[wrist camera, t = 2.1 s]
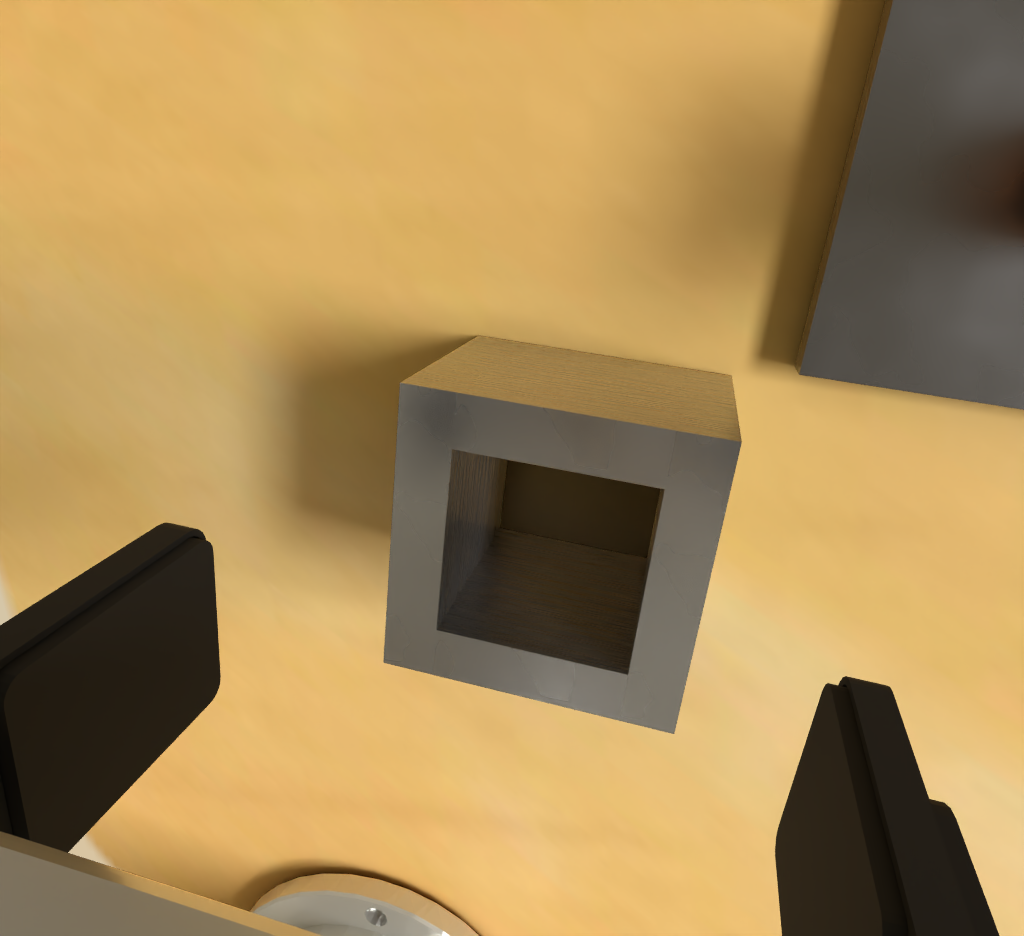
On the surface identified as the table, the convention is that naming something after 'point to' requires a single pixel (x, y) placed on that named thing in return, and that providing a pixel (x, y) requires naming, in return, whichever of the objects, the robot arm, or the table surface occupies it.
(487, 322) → the table surface
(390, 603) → the grey square open box
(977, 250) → the post
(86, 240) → the table surface
